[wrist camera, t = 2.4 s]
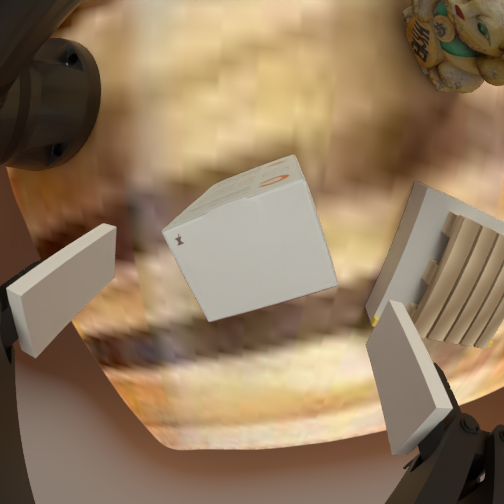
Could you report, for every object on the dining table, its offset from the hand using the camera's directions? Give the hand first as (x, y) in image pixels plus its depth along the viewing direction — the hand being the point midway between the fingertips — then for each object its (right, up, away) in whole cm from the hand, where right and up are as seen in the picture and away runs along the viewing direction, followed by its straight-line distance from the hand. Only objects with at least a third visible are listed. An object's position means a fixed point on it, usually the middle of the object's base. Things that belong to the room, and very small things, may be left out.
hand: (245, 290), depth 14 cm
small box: (+2, +6, +14) cm, 16 cm away
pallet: (+22, -1, +12) cm, 25 cm away
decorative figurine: (+18, +21, +6) cm, 28 cm away
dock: (+23, 0, +14) cm, 27 cm away
